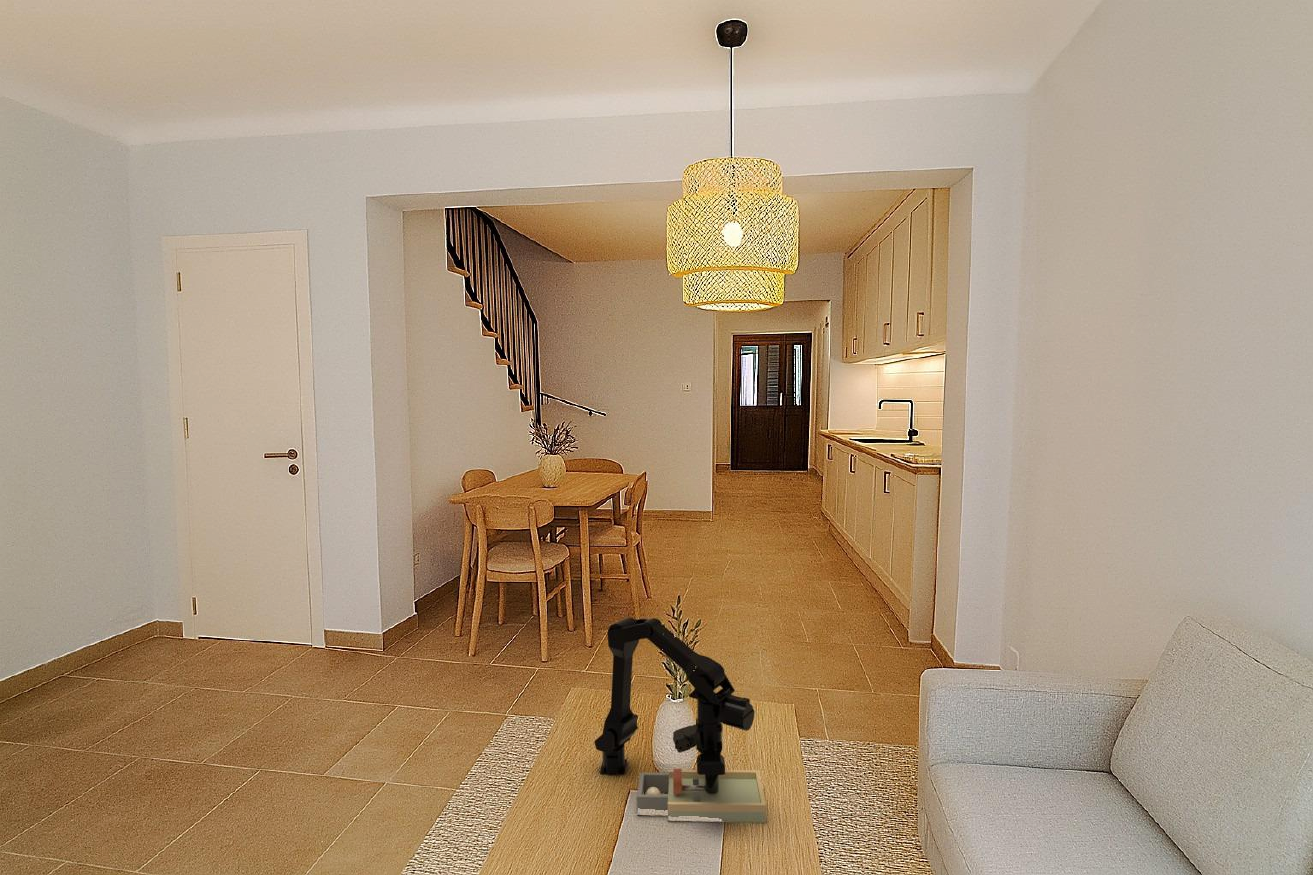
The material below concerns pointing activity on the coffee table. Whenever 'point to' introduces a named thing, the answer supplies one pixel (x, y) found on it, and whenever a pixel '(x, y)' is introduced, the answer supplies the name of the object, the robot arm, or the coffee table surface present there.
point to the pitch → (721, 797)
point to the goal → (653, 800)
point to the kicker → (679, 787)
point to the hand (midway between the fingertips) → (709, 782)
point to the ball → (653, 791)
